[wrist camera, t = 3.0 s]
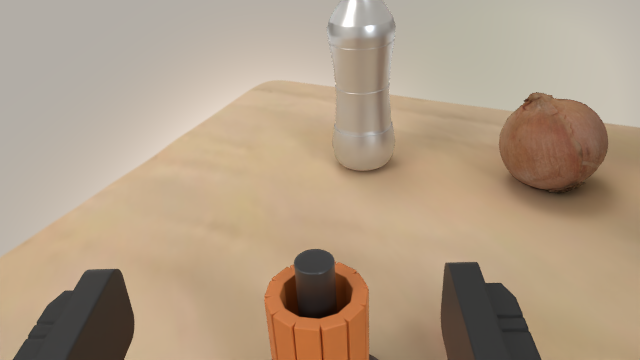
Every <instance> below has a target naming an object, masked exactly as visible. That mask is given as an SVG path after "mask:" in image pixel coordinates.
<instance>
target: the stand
mask: <svg viewBox="0 0 640 360" xmlns="http://www.w3.org/2000/svg"><path fill="white" fill-rule="evenodd" d="M294 269H295V280H296V291H297V302H298V313H299V317H306V318H317V319H320V318H324V317H327V316H331V315H334V314H337V302H336V280H335V260H334V258H333V256H332V255H331V254H330V253H329V252H327V251H324V250H320V249H311V250H307V251H304V252H302V253H300V254H299V255H298V256H297V257H296V258H295V261H294ZM369 360H378V359H377V358H375V357H373V356H371V355H370V354H369Z"/></svg>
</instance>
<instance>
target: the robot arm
mask: <svg viewBox="0 0 640 360" xmlns="http://www.w3.org/2000/svg"><path fill="white" fill-rule="evenodd" d="M441 327H442V334H443V339H444V344H445V348H446V352H447V357H448V360H541V358H540V355H539V353H538V350H537V348H536V345H535V343H534V341H533V338H532V336H531V333H530V332H529V331H528V326H527V324H526V321H525V319H524V318H523V314H522V312H521V309H520V307H519V304H518V302H517V299H516V297H515V296H514V295H513V294H512V293H511V292H510V291H509V290H508V289H507V288H505V287H504V286H503V285H502V284H501V283H485V281H484V278H483V275H482V273H481V270H480V267H479V265H478V263H477V262H457V263H446V264H445V268H444V279H443V291H442V303H441ZM133 334H134V314H133V311H132V307H131V303H130V300H129V296H128V293H127V289H126V286H125V282H124V278H123V275H122V273H121V271H120V270H119V269H95V270H87V271H85V272H84V274H83V275H82V277H81V279H80V280H79V282H78V284H77V285H76V287H75V289H74V290H73V291H64V292H63V293H62V294H60V295H59V296H58V297H57V298H56V299H55V300H53V301H52V302H51V303H50V304H49V305H47V307H46V308H45V310H44V312H43V313H42V315H41V316H40V318H39V319H38V321H37V325H35V326H34V327H33V329H32V331H31V332H30V334H29V335H28V339H26V340H25V342H24V343H23V345H22V346H21V348H20V349H19V351H18V353H17V354H16V356H15V357H14V359H13V360H124V358H125V356H126V353H127V351H128V348H129V346H130V344H131V341H132V338H133Z"/></svg>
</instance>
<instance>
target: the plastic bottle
mask: <svg viewBox="0 0 640 360" xmlns="http://www.w3.org/2000/svg"><path fill="white" fill-rule="evenodd" d="M327 34H328V40H329V45H330V50H331V56H332V61H333V66H334V76H335V82H336V85H335V86H336V115H335V125H334V131H333V141H332V144H333V149H334V153H335V157H336V158H337V160H338V161H339V162H340V163H341V164H342V165H343V166H344V167H346V168H349V169H352V170H360V171H365V170H373V169H377V168H380V167H382V166H384V165H385V164H386V163H387V162H388V161H389V159H390V158H391V157H392V155H393V151H394V146H395V135H394V128H393V124H392V121H391V111H390V98H389V79H390V65H391V58H392V50H393V44H394V37H395V22H394V19H393V16H392V14H391V12H390V11H389V9H388V7H387V6H386V4H385V3H384V2H383V0H341V1H340V2H339V4H338V5H337V7H336V8H335V10H334V12H333V13H332V15H331V17H330V19H329V22H328V27H327Z"/></svg>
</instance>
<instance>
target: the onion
mask: <svg viewBox="0 0 640 360" xmlns="http://www.w3.org/2000/svg"><path fill="white" fill-rule="evenodd" d="M524 102H525V103H524V104H523V105H521V106H520V107H519V108H518V109H517V110H516V111H515V112H514V113H512V114H511V116H510V117H509V118H508V119H507V121H506V123H505V125H504V126H503V128H502V130H501V133H500V140H499V147H500V153H501V157H502V160H503V162H504V164H505V166H506V168H507V169H508V170H509V172H510V173H511V174H512V175H513V176H514V177H515V178H516V179H518V180H519V181H521V182H523V183H524V184H526V185H529V186H532V187H535V188H540V189H547V191H549V193H551V192H556V193H559V192H565V191H566V192H567V191H569V190H572V189H575V187H576V186H579V185H581V184H584V183H583V182H582V181H583V180H585V179H586V178H588V177H589V176H590V175H592V174H593V173H594V172H595V171H596V170H597V168H598V167H599V166H600V164H601V163H602V162H603V160H604V158H605V156H606V153H607V148H608V136H607V131H606V128H605V126H604V124H603V122H602V120H601V119H600V117H599V116H598V115H597V114H596V112H594V111H593V110H592V109H591V108H589V107H588V106H587V105H585V104H582V103H581V102H577V101H574V100H568V99H556V98H555V99H554V98H553V97H552V95H546V94H544V93H537V92H536V93H532V94H530V96H529V97H528V98H527V99H526V100H524Z"/></svg>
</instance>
